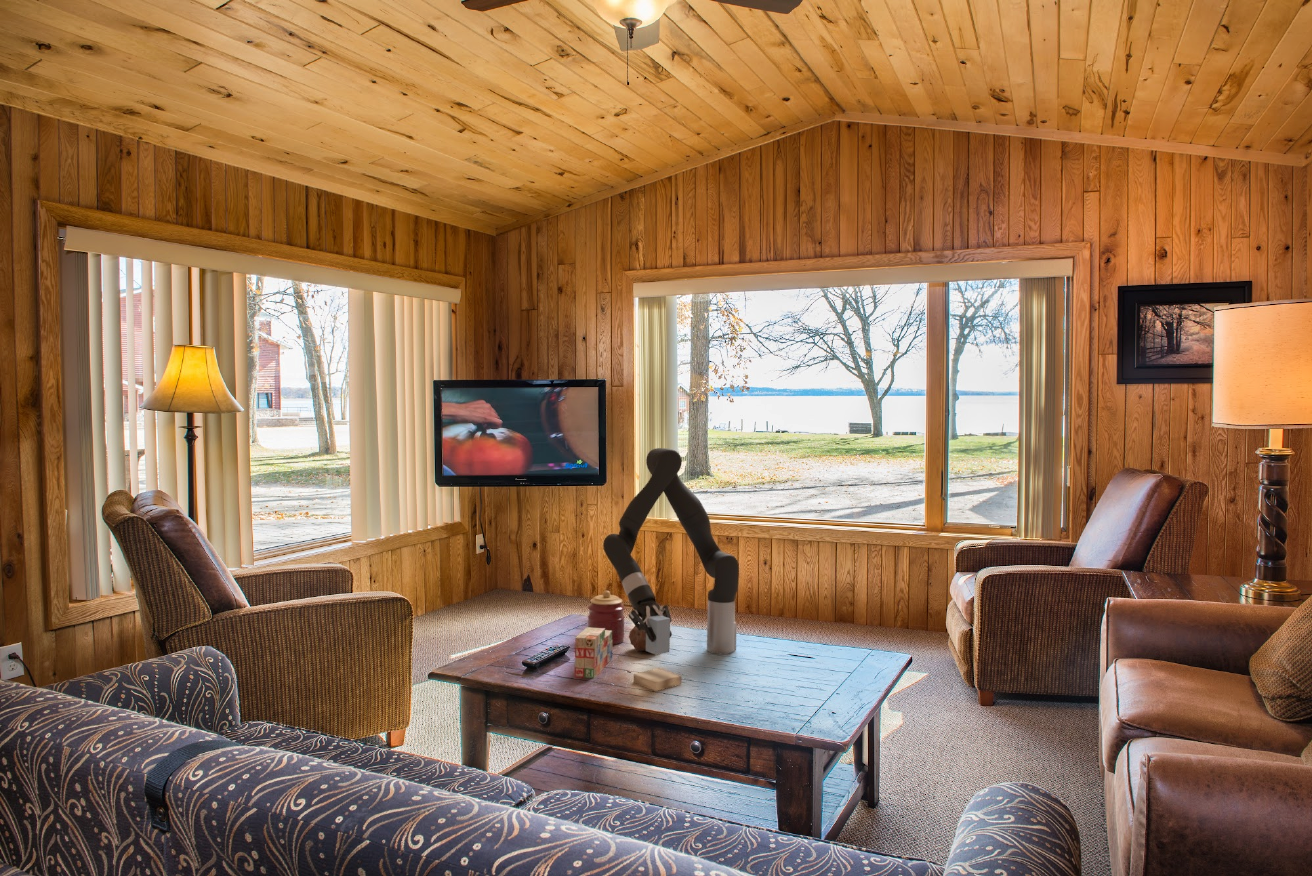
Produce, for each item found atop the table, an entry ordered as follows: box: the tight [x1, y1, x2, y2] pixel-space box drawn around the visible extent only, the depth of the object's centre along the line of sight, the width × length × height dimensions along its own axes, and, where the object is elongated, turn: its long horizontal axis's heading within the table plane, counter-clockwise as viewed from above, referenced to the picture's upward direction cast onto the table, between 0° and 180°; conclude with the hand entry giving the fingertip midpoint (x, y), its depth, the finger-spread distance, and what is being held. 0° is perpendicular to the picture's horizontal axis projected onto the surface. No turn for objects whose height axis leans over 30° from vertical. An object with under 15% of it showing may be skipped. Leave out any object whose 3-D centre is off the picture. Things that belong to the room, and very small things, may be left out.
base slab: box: [633, 667, 682, 692], centre depth 247 cm, size 10×10×3 cm
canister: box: [587, 590, 626, 646], centre depth 292 cm, size 13×13×18 cm
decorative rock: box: [628, 624, 649, 653], centre depth 280 cm, size 13×11×10 cm
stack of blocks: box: [574, 626, 613, 679], centre depth 261 cm, size 21×6×12 cm, turn 168°
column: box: [645, 615, 671, 655], centre depth 246 cm, size 5×5×10 cm
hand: (661, 638), depth 245 cm, fingers closed on column, 5 cm apart
